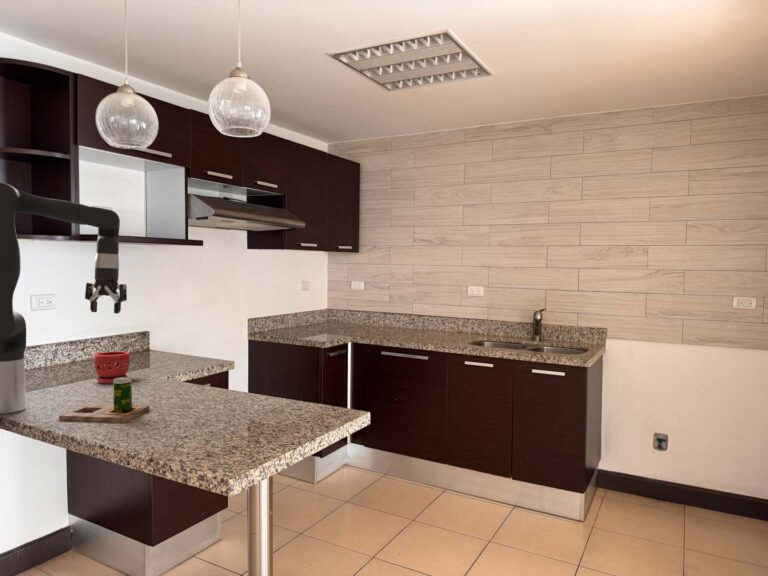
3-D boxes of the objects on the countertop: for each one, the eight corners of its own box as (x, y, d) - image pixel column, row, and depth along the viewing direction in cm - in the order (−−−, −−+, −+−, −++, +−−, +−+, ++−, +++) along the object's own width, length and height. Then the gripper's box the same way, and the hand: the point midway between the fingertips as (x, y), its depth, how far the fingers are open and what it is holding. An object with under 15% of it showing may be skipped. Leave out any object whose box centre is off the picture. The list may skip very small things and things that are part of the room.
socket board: (59, 420, 173) (58, 414, 173) (88, 408, 187) (88, 403, 187) (124, 422, 170) (124, 416, 170) (149, 410, 184) (149, 405, 184)
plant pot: (129, 383, 226) (128, 354, 225) (93, 386, 221) (92, 356, 221) (131, 377, 238) (130, 349, 237) (97, 379, 233) (96, 351, 233)
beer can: (124, 412, 181) (123, 376, 181) (136, 414, 179) (135, 377, 179) (110, 416, 176) (109, 379, 176) (122, 418, 174) (121, 381, 174)
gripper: (81, 265, 192) (79, 312, 192) (119, 267, 190) (117, 314, 190) (94, 266, 199) (93, 311, 199) (132, 268, 198) (130, 313, 198)
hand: (105, 312), depth 195 cm, fingers open, 8 cm apart
